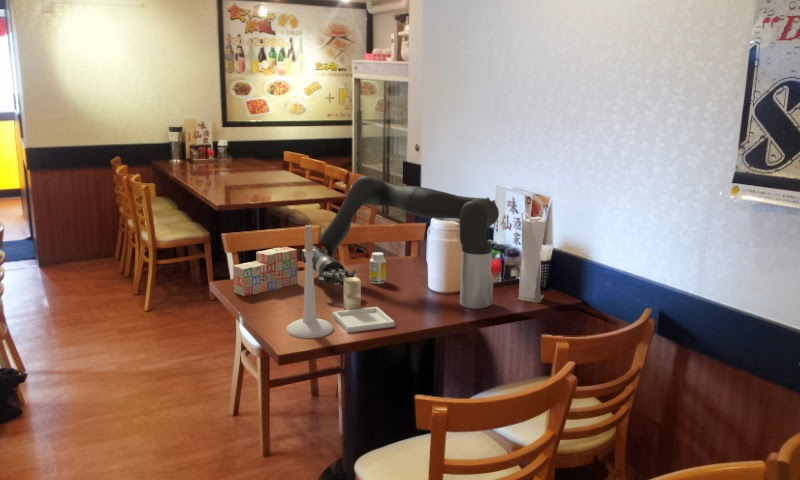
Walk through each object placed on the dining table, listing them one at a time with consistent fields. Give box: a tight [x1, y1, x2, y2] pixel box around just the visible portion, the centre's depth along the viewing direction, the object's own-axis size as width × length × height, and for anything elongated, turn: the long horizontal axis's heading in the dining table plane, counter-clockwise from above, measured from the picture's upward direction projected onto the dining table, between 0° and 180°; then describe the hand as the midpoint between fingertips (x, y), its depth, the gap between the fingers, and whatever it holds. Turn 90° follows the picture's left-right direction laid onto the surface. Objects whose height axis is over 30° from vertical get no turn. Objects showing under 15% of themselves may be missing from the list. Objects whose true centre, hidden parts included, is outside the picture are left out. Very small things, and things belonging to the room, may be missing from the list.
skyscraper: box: [517, 211, 546, 304], centre depth 216 cm, size 8×8×28 cm
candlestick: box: [286, 223, 334, 339], centre depth 185 cm, size 13×13×30 cm
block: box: [343, 276, 362, 311], centre depth 203 cm, size 4×4×10 cm
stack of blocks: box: [232, 246, 298, 297], centre depth 224 cm, size 21×6×12 cm, turn 136°
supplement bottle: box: [369, 251, 387, 285], centre depth 233 cm, size 6×6×10 cm
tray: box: [332, 306, 396, 333], centre depth 195 cm, size 14×14×2 cm
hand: (346, 283), depth 208 cm, fingers closed
